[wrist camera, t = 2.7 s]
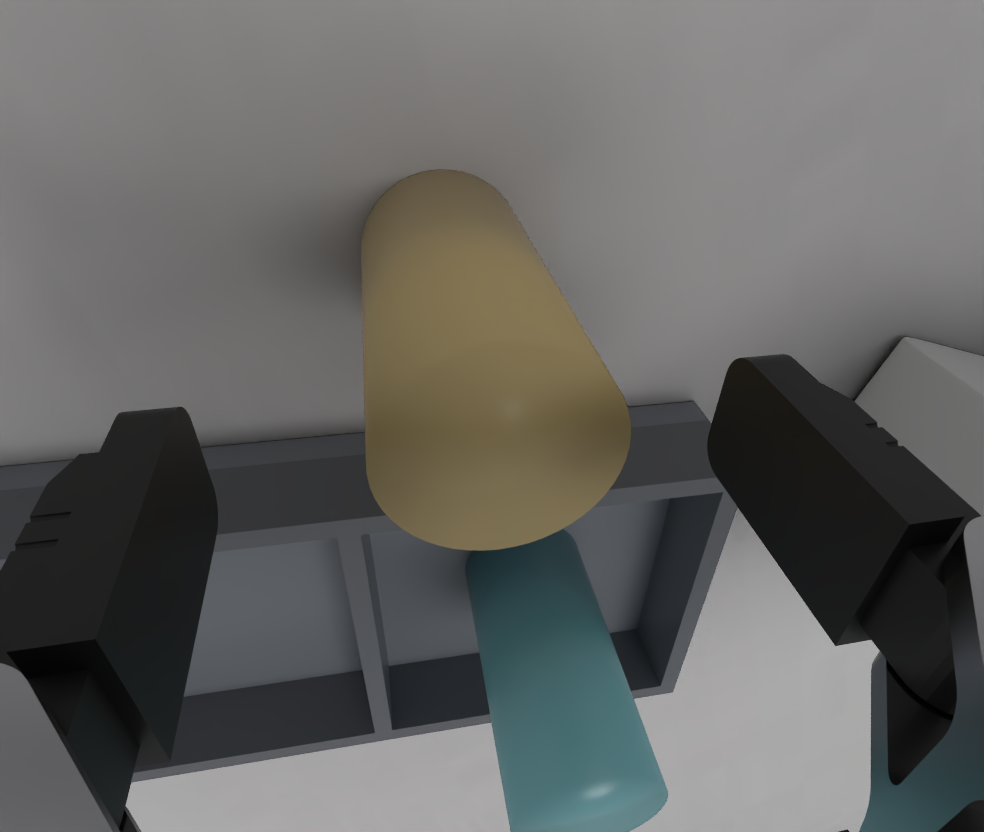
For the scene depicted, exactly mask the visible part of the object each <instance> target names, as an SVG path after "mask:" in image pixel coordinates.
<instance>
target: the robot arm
mask: <svg viewBox="0 0 984 832" xmlns="http://www.w3.org/2000/svg"><path fill="white" fill-rule="evenodd" d="M707 452H708V458H709V462H710V465H711V468H712V470H713V472H714V474H715V475H716V477H717V478H718V480H719V481H720V483H721V484H722V485H723V487H724V488H725V490H726V491H727V492H728V494H729V495H730V497H731V498H732V500H733V501H734V502H735V504H736V505H737V507H738V508H739V510H740V511H741V512H742V514H743V515H744V517H745V518H746V520H747V521H748V522H749V524H750V525H751V527H752V528H753V529H754V531H755V532H756V534H757V535H758V537H759V538H760V539H761V541H762V542H763V544H764V545H765V547H766V548H767V549H768V551H769V552H770V554H771V555H772V556H773V558H774V559H775V561H776V562H777V564H778V565H779V566H780V568H781V569H782V571H783V572H784V574H785V575H786V576H787V578H788V579H789V581H790V582H791V583H792V585H793V586H794V588H795V589H796V591H797V592H798V593H799V595H800V596H801V598H802V599H803V601H804V602H805V603H806V605H807V606H808V608H809V609H810V610H811V612H812V613H813V615H814V616H815V618H816V619H817V620H818V622H819V623H820V625H821V626H822V628H823V629H824V630H825V632H826V633H827V635H828V636H829V637H830V639H831V640H832V642H833V643H834V645H835V646H838V645H843V644H849V643H855V642H860V641H866V640H872V641H873V642H874V644H875V645H876V646H877V648H878V649H879V650H880V651H879V653H878V654H877V656H876V657H875V659H874V661H873V663H872V670H871V792H870V800H869V805H868V809H867V813H866V816H865V819H864V821H863V823H862V826H861V828H860V831H859V832H984V516H981V515H980V514H979V513H978V512H977V511H976V510H975V509H974V508H972V507H971V506H970V505H969V504H968V503H967V502H966V501H965V500H963V499H962V498H961V497H960V496H959V495H958V494H957V493H956V492H955V491H953V490H952V489H951V488H950V487H949V486H948V485H947V484H946V483H944V482H943V481H942V480H941V479H940V478H939V477H938V476H937V475H936V474H934V473H933V472H932V471H931V470H930V469H929V468H928V467H927V466H925V465H924V464H923V463H922V462H921V461H920V460H919V459H918V458H917V457H915V456H914V455H913V454H912V453H911V452H910V451H909V450H908V449H907V448H905V447H904V446H899V445H898V440H896V439H895V438H894V437H893V436H892V435H891V434H890V433H889V432H888V431H886V430H885V429H884V428H883V427H878V426H877V422H876V421H875V420H874V419H873V418H872V417H871V416H870V415H869V414H867V413H866V412H865V411H864V410H863V409H862V408H861V407H860V406H858V405H857V404H856V403H855V402H854V401H853V400H851V399H849V398H847V397H846V396H844V395H842V394H840V393H838V392H836V391H834V390H833V389H831V388H829V387H827V386H825V385H823V384H821V383H820V382H819V381H817V380H816V379H815V378H814V377H813V376H812V375H811V374H810V373H809V372H808V371H807V370H806V369H804V368H803V367H802V366H801V365H800V364H799V363H798V362H797V361H796V360H795V359H793V358H792V357H791V356H789V355H785V354H780V355H769V356H758V357H747V358H738V359H736V360H734V361H733V362H732V363H731V365H730V366H729V368H728V371H727V373H726V377H725V380H724V384H723V387H722V390H721V394H720V397H719V401H718V404H717V407H716V411H715V414H714V418H713V421H712V424H711V428H710V431H709V435H708V440H707ZM217 531H218V506H217V499H216V494H215V490H214V486H213V483H212V481H211V478H210V475H209V472H208V469H207V466H206V463H205V460H204V457H203V454H202V451H201V448H200V445H199V442H198V439H197V436H196V433H195V430H194V427H193V424H192V421H191V419H190V416H189V414H188V413H187V411H186V410H185V409H184V408H183V407H174V408H163V409H152V410H140V411H129V412H121V413H119V414H118V415H117V417H116V418H115V420H114V422H113V424H112V426H111V429H110V431H109V433H108V435H107V437H106V439H105V441H104V443H103V446H102V448H101V450H100V452H98V453H88V454H79V455H78V456H77V457H76V458H75V459H74V460H73V461H72V462H71V463H69V464H68V465H67V466H66V467H65V468H64V469H63V470H62V471H61V472H59V473H58V474H57V475H56V476H55V477H54V478H53V479H52V480H51V481H49V482H48V483H47V485H46V487H45V489H44V490H43V492H42V494H41V496H40V498H39V500H38V502H37V503H36V505H35V507H34V509H33V511H32V513H31V515H30V523H26V524H25V526H24V528H23V530H22V531H21V533H20V535H19V537H18V539H17V541H16V543H15V547H16V549H15V551H11V552H10V554H9V556H8V557H7V559H6V561H5V563H4V565H3V567H2V569H1V570H0V832H141V830H140V829H139V827H138V825H137V824H136V822H135V820H134V819H133V817H132V815H131V814H130V812H129V810H128V809H127V808H126V806H125V805H126V801H127V797H128V793H129V789H130V785H131V781H132V776H133V772H134V768H135V767H139V766H145V765H151V764H156V763H162V762H168V761H170V760H171V756H172V751H173V746H174V741H175V736H176V731H177V726H178V721H179V717H180V712H181V707H182V702H183V697H184V692H185V687H186V683H187V678H188V673H189V668H190V663H191V658H192V653H193V648H194V644H195V639H196V634H197V629H198V624H199V619H200V614H201V610H202V605H203V600H204V595H205V590H206V585H207V580H208V575H209V571H210V566H211V561H212V556H213V551H214V546H215V541H216V536H217ZM840 832H849V831H848V830H844V831H840Z"/></svg>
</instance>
